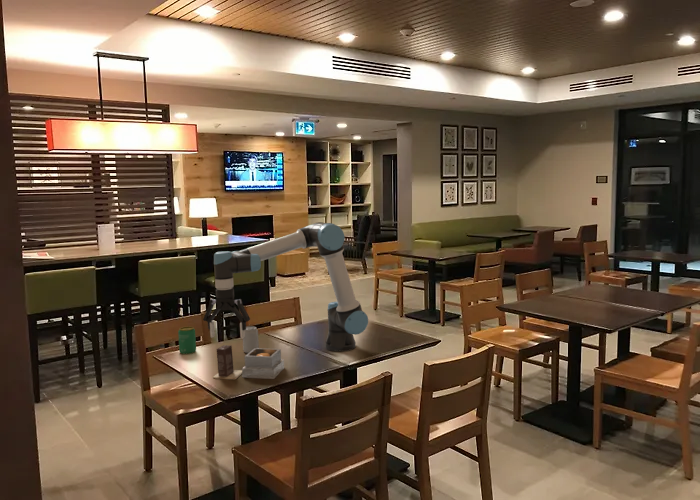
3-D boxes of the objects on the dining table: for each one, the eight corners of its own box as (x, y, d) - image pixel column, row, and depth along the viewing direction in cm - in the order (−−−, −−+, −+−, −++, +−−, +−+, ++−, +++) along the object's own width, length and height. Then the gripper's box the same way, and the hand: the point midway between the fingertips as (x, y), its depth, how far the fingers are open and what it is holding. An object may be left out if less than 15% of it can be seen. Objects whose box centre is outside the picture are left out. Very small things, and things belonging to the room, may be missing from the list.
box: (224, 371, 245) (223, 344, 243) (233, 372, 243) (232, 345, 242) (217, 376, 239) (216, 348, 238) (226, 377, 238) (225, 349, 236)
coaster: (244, 371, 246) (244, 370, 246) (235, 379, 236) (235, 378, 236) (222, 370, 248) (222, 369, 248) (212, 378, 238) (212, 377, 238)
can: (255, 354, 271) (254, 329, 270) (240, 353, 273) (239, 329, 271) (261, 349, 279) (260, 326, 277) (246, 349, 280) (245, 325, 279)
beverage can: (199, 350, 279) (198, 327, 277) (188, 355, 272) (187, 331, 270) (187, 349, 282) (185, 325, 281) (175, 353, 275) (174, 329, 274)
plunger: (271, 361, 246) (271, 353, 245) (267, 365, 240) (267, 357, 240) (259, 360, 247) (259, 352, 246) (254, 364, 241) (254, 356, 241)
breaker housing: (284, 368, 250) (283, 348, 249) (273, 379, 236) (273, 358, 235) (254, 366, 252) (253, 347, 251) (242, 377, 239) (241, 356, 238)
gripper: (255, 286, 239) (258, 335, 241) (201, 286, 244) (204, 334, 246) (249, 290, 231) (252, 340, 234) (193, 289, 236) (196, 338, 239)
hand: (227, 337), depth 240 cm, fingers open, 13 cm apart
